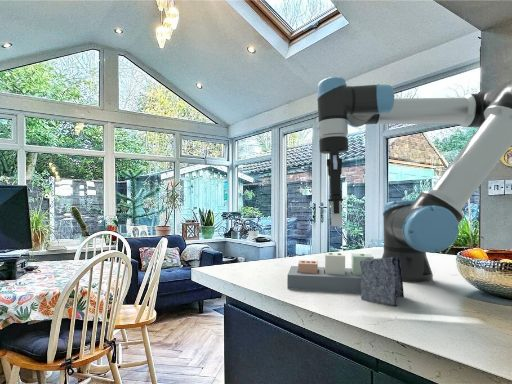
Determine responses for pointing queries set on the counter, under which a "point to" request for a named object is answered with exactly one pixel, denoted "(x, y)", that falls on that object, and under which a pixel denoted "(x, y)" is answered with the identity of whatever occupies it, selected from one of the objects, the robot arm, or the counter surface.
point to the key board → (324, 281)
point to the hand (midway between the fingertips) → (336, 225)
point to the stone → (381, 280)
